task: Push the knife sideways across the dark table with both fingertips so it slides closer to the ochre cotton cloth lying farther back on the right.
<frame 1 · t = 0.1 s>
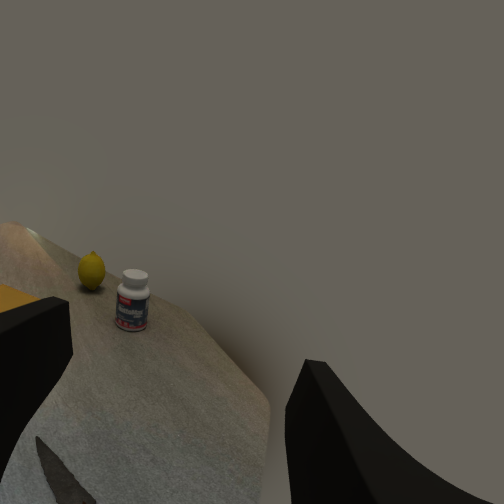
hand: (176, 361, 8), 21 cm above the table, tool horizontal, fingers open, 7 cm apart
fruit: (90, 290, 55), on the table
cloth: (0, 307, 38), on the table
pill bottle: (131, 325, 48), on the table
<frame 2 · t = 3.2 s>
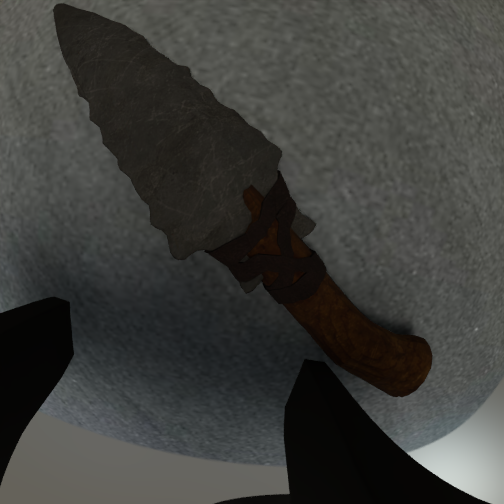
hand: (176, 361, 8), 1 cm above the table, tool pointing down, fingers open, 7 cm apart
knife: (219, 179, 8), on the table, touching gripper
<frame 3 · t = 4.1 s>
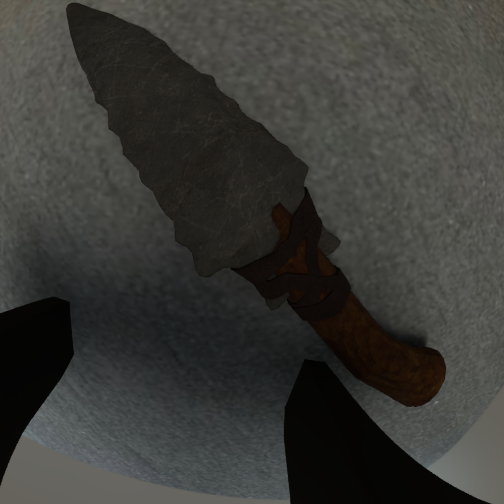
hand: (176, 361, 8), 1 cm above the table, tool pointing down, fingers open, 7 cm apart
knife: (243, 193, 8), on the table, touching gripper
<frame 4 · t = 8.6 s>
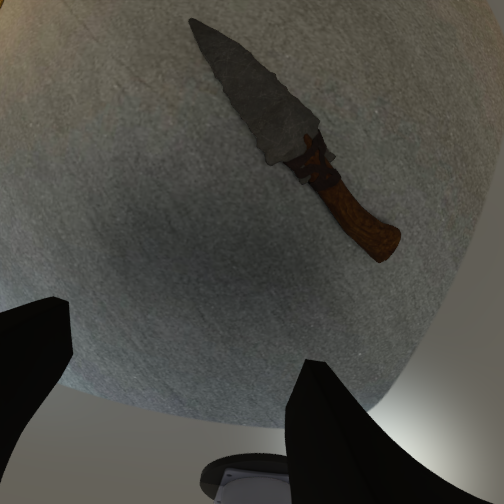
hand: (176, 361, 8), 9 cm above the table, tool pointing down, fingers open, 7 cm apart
knife: (286, 132, 15), on the table
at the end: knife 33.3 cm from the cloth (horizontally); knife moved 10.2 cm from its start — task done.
